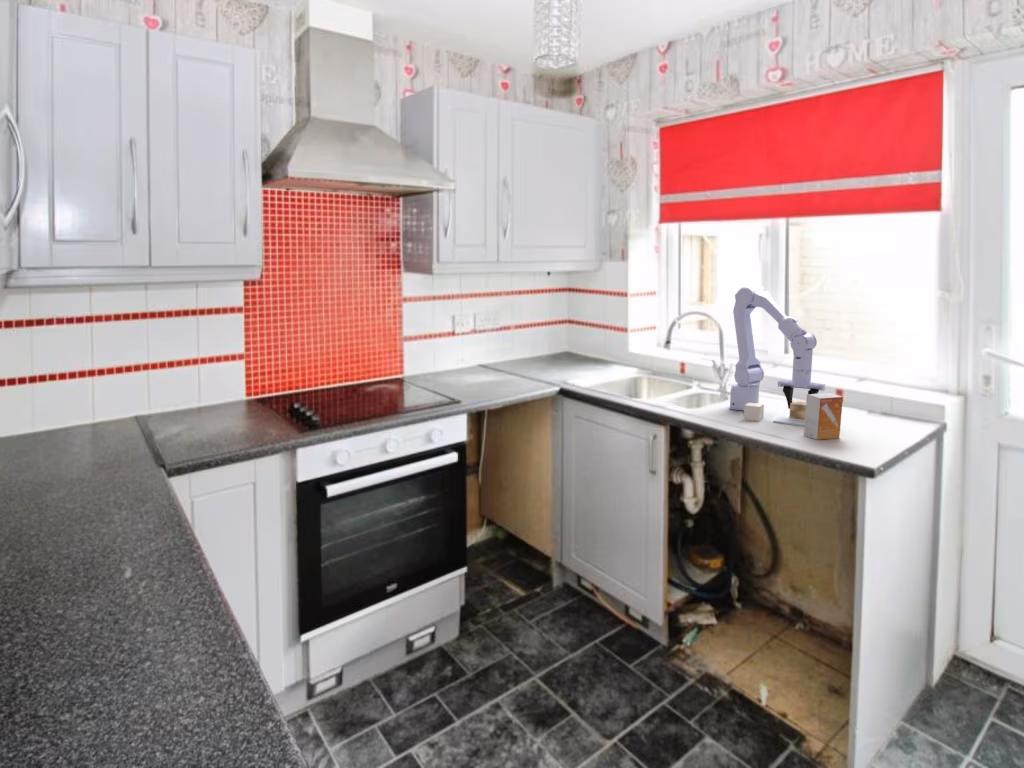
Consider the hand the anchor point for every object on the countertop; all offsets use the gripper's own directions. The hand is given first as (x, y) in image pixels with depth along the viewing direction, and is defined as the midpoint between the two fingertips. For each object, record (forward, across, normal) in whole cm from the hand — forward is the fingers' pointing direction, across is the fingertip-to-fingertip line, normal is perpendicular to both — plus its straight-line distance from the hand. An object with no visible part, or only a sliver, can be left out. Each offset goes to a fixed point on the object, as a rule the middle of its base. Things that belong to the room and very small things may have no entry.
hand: (799, 409), depth 221 cm
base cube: (+3, 0, 0) cm, 3 cm away
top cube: (+3, -13, -7) cm, 15 cm away
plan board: (+3, 0, -2) cm, 4 cm away
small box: (+4, +11, -19) cm, 22 cm away
